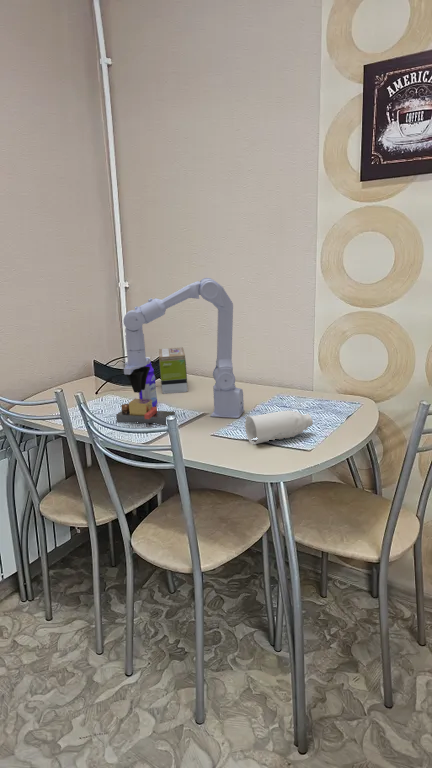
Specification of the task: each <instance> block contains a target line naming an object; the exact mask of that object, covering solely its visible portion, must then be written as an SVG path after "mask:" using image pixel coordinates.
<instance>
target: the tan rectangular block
mask: <svg viewBox="0 0 432 768" xmlns="http://www.w3.org/2000/svg"><path fill="white" fill-rule="evenodd" d="M128 404H129V411H130V415H143V416H144V415H145V414H146V413H147V412H148V411H150V410H151V407H152V400H151V399H139V398H134V399H131V401H129V402H128Z"/></svg>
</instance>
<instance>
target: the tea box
mask: <svg viewBox="0 0 432 768" xmlns="http://www.w3.org/2000/svg"><path fill="white" fill-rule="evenodd" d="M184 350H185V349H184V348H183V347H182V346H181V347H168V348H159V349H158V355H159V356H158V361H159V372H160V384H161V393H162V394H163V395H165V394H177V393H187V392H188V391H189V390H188V389H189V388H188V375H187V374H188V373H187V362H186V354H185V351H184Z"/></svg>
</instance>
